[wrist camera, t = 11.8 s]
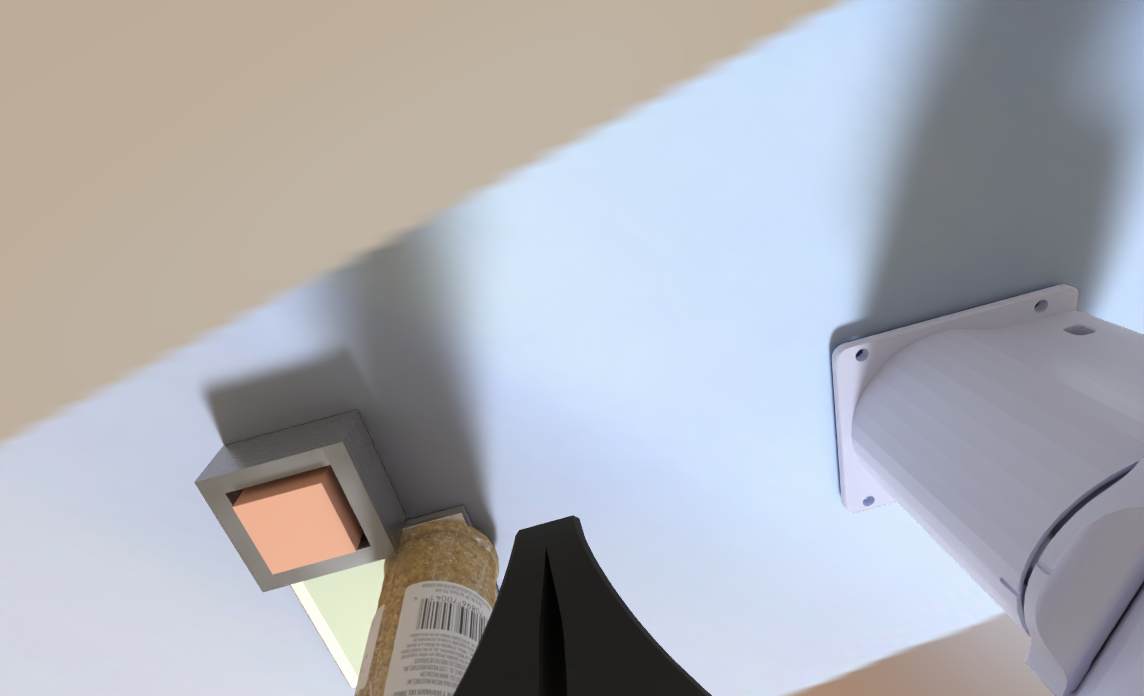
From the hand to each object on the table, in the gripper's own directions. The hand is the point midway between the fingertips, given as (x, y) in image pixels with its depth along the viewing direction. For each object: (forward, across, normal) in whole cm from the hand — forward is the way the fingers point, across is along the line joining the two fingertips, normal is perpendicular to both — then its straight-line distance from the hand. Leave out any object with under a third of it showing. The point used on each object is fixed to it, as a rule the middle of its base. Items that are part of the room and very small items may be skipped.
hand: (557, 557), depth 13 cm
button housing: (+9, +9, +2) cm, 13 cm away
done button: (+9, +9, +2) cm, 13 cm away
